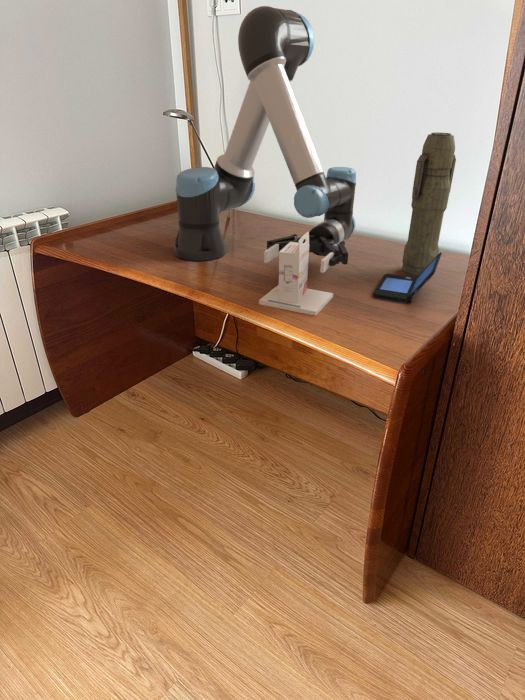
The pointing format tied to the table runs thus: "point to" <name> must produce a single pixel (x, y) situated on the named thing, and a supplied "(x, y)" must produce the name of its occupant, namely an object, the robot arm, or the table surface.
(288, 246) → the ink cartridge box
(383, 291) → the handheld game console
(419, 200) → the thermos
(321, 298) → the notepad
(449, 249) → the table surface
